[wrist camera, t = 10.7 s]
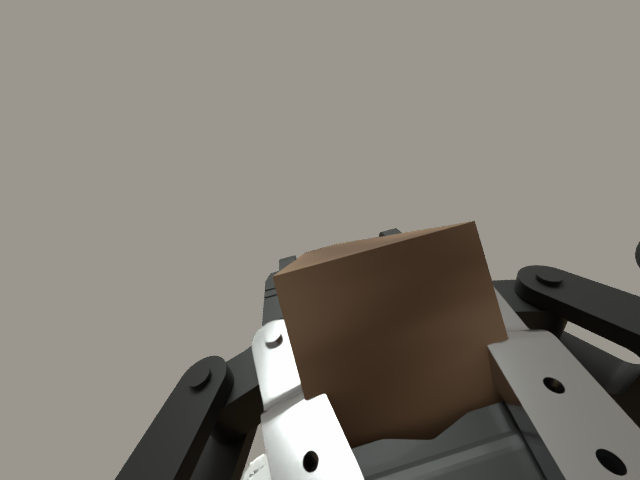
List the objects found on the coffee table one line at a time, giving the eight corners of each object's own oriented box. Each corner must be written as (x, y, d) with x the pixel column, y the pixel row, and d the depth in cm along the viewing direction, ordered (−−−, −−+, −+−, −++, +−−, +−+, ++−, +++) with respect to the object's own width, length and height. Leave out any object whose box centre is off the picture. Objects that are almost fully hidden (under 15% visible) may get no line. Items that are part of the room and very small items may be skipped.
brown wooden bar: (346, 276, 27) (338, 243, 27) (533, 425, 4) (474, 221, 4) (314, 285, 27) (305, 252, 27) (328, 491, 4) (272, 276, 4)
